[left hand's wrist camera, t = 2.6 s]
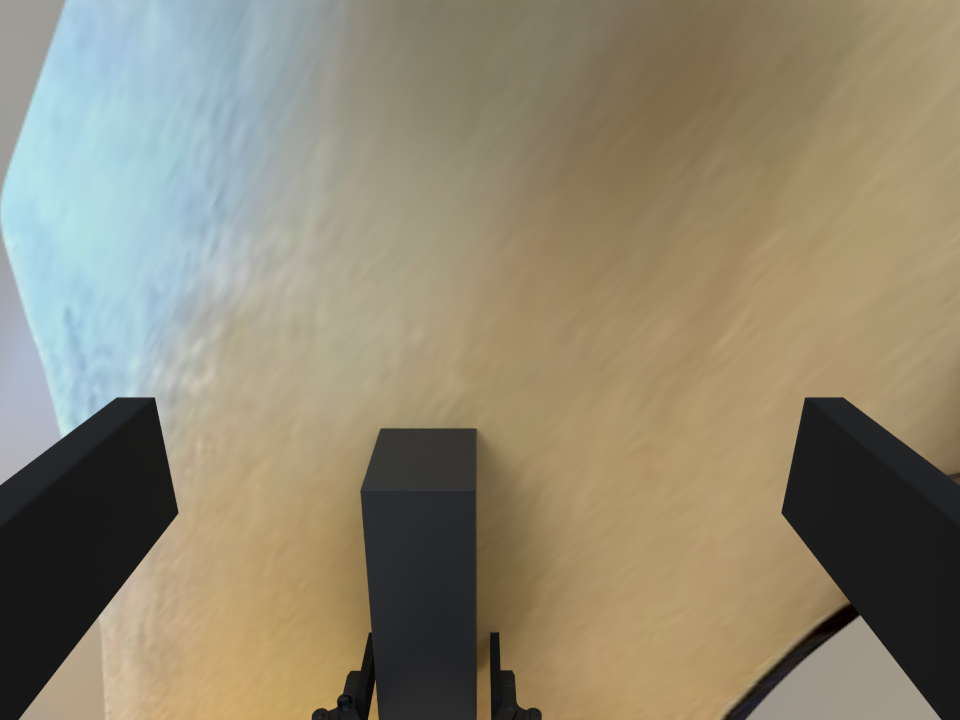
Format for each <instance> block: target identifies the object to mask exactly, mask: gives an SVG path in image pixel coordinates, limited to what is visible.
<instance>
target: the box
mask: <svg viewBox="0 0 960 720" xmlns="http://www.w3.org/2000/svg"><path fill="white" fill-rule="evenodd" d="M361 503H362V515H363V528H364V540H365V553H366V565H367V578H368V590H369V602H370V615H371V627H372V640H373V652H374V665H375V677H376V690H377V702H378V714H379V720H477V464H476V429H380V432H379V435H378V438H377V442H376V445H375V448H374V451H373V454H372V457H371V460H370V463H369V466H368V469H367V472H366V475H365V478H364V481H363V484H362V488H361Z"/></svg>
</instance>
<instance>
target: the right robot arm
mask: <svg viewBox="0 0 960 720" xmlns="http://www.w3.org/2000/svg"><path fill="white" fill-rule="evenodd" d="M948 477H949V478H951V479H952V480H953V481H955V482H956V483H957V484H959V485H960V474H955V475H950V476H948ZM490 676H491V720H542V714H541V712H540V710H538V709H537V708H529V709H528V710H525V709H522V708H520V707H519V706H518V704H517V702H516V688H515V675H514V673H513V671H512V670H500V645H499V632H490ZM375 679H376V677H375V665H374V652H373V640H372V633H369V635H368V640H367V645H366V649H365V654H364V658H363V663H362V668H361V671H350V673H349V674H348V676H347V679H346V683H345V687H344V692H343V694H342V695H340V696H339V697H338V699H337V705H338V707H337V708H335V709H333V710H330V711H327V710H326V709H324V708H320V709H317V710H316V711H314V713H313V714H312V720H368V716H369V711H370V705H371V700H372V695H373V689H374V684H375Z"/></svg>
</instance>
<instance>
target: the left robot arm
mask: <svg viewBox="0 0 960 720" xmlns="http://www.w3.org/2000/svg"><path fill="white" fill-rule="evenodd" d="M177 514H178V508H177V503H176V498H175V493H174V488H173V483H172V479H171V474H170V469H169V464H168V459H167V454H166V449H165V445H164V440H163V435H162V430H161V425H160V420H159V415H158V411H157V406H156V401H155V398H116V399H114V400H113V401H112V402H110V403H109V404H108V405H106V406H105V407H104V408H102V409H101V410H100V411H98V412H97V413H96V414H94V415H93V416H92V417H90V418H89V419H88V420H86V421H85V422H84V423H82V424H81V425H80V426H78V427H77V428H76V429H74V430H73V431H72V432H70V433H69V434H68V435H66V436H65V437H64V438H62V439H61V440H60V441H58V442H57V443H56V444H54V445H53V446H52V447H51V448H49V449H48V450H47V451H45V452H44V453H43V454H41V455H40V456H39V457H37V458H36V459H35V460H33V461H32V462H31V463H29V464H28V465H27V466H25V467H24V468H23V469H21V470H20V471H19V472H17V473H16V474H15V475H13V476H12V477H11V478H9V479H8V480H7V481H5V482H4V483H3V484H1V485H0V720H19V718H20V717H21V716H22V714H23V713H24V712H25V711H26V709H27V708H28V707H29V705H30V704H31V703H32V702H33V700H34V699H35V698H36V696H37V695H38V694H39V693H40V691H41V690H42V689H43V687H44V686H45V685H46V684H47V682H48V681H49V680H50V678H51V677H52V676H53V675H54V673H55V672H56V671H57V669H58V668H59V667H60V665H61V664H62V663H63V662H64V660H65V659H66V658H67V656H68V655H69V654H70V653H71V651H72V650H73V649H74V647H75V646H76V645H77V644H78V642H79V641H80V640H81V638H82V637H83V636H84V635H85V633H86V632H87V631H88V629H89V628H90V627H91V625H92V624H93V623H94V621H95V620H96V619H97V618H98V616H99V615H100V614H101V613H102V611H103V610H104V609H105V607H106V606H107V605H108V604H109V602H110V601H111V600H112V598H113V597H114V596H115V595H116V593H117V592H118V591H119V589H120V588H121V587H122V585H123V584H124V583H125V582H126V580H127V579H128V578H129V576H130V575H131V574H132V573H133V571H134V570H135V569H136V567H137V566H138V565H139V564H140V562H141V561H142V560H143V558H144V557H145V556H146V554H147V553H148V552H149V551H150V549H151V548H152V547H153V545H154V544H155V543H156V542H157V540H158V539H159V538H160V536H161V535H162V534H163V533H164V531H165V530H166V529H167V527H168V526H169V525H170V524H171V522H172V521H173V520H174V518H175V517H176V516H177ZM782 514H783V516H784V517H785V518H786V520H787V521H788V522H789V524H790V525H791V526H792V527H793V529H794V530H795V531H796V533H797V534H798V535H799V536H800V538H801V539H802V540H803V542H804V543H805V544H806V545H807V547H808V548H809V549H810V551H811V552H812V553H813V554H814V556H815V557H816V558H817V560H818V561H819V562H820V564H821V565H822V566H823V567H824V569H825V570H826V571H827V573H828V574H829V575H830V576H831V578H832V579H833V580H834V582H835V583H836V584H837V585H838V587H839V588H840V589H841V591H842V592H843V593H844V595H845V596H846V597H847V598H848V600H849V601H850V602H851V604H852V605H853V606H854V607H855V609H856V610H857V611H858V613H859V614H860V615H861V616H862V618H863V619H864V620H865V622H866V623H867V624H868V625H869V627H870V628H871V629H872V631H873V632H874V633H875V635H876V636H877V637H878V638H879V640H880V641H881V642H882V644H883V645H884V646H885V647H886V649H887V650H888V651H889V653H890V654H891V655H892V656H893V658H894V659H895V660H896V662H897V663H898V664H899V666H900V667H901V668H902V669H903V671H904V672H905V673H906V675H907V676H908V677H909V678H910V680H911V681H912V682H913V684H914V685H915V686H916V687H917V689H918V690H919V691H920V693H921V694H922V695H923V696H924V698H925V699H926V700H927V702H928V703H929V704H930V706H931V707H932V708H933V709H934V711H935V712H936V713H937V715H938V716H939V717H940V718H941V720H960V485H959V484H957V483H956V482H955V481H953V480H952V479H951V478H949V477H948V476H947V475H945V474H944V473H943V472H941V471H940V470H939V469H937V468H936V467H935V466H933V465H932V464H931V463H929V462H928V461H927V460H925V459H924V458H923V457H921V456H920V455H919V454H917V453H916V452H915V451H913V450H912V449H911V448H909V447H908V446H907V445H906V444H904V443H903V442H902V441H900V440H899V439H898V438H896V437H895V436H894V435H892V434H891V433H890V432H888V431H887V430H886V429H884V428H883V427H882V426H880V425H879V424H878V423H876V422H875V421H874V420H872V419H871V418H870V417H868V416H867V415H866V414H864V413H863V412H862V411H860V410H859V409H858V408H856V407H855V406H854V405H852V404H851V403H850V402H848V401H847V400H846V399H844V398H805V401H804V406H803V411H802V415H801V420H800V425H799V430H798V435H797V440H796V445H795V449H794V454H793V459H792V464H791V469H790V474H789V479H788V483H787V488H786V493H785V498H784V503H783V508H782Z"/></svg>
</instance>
